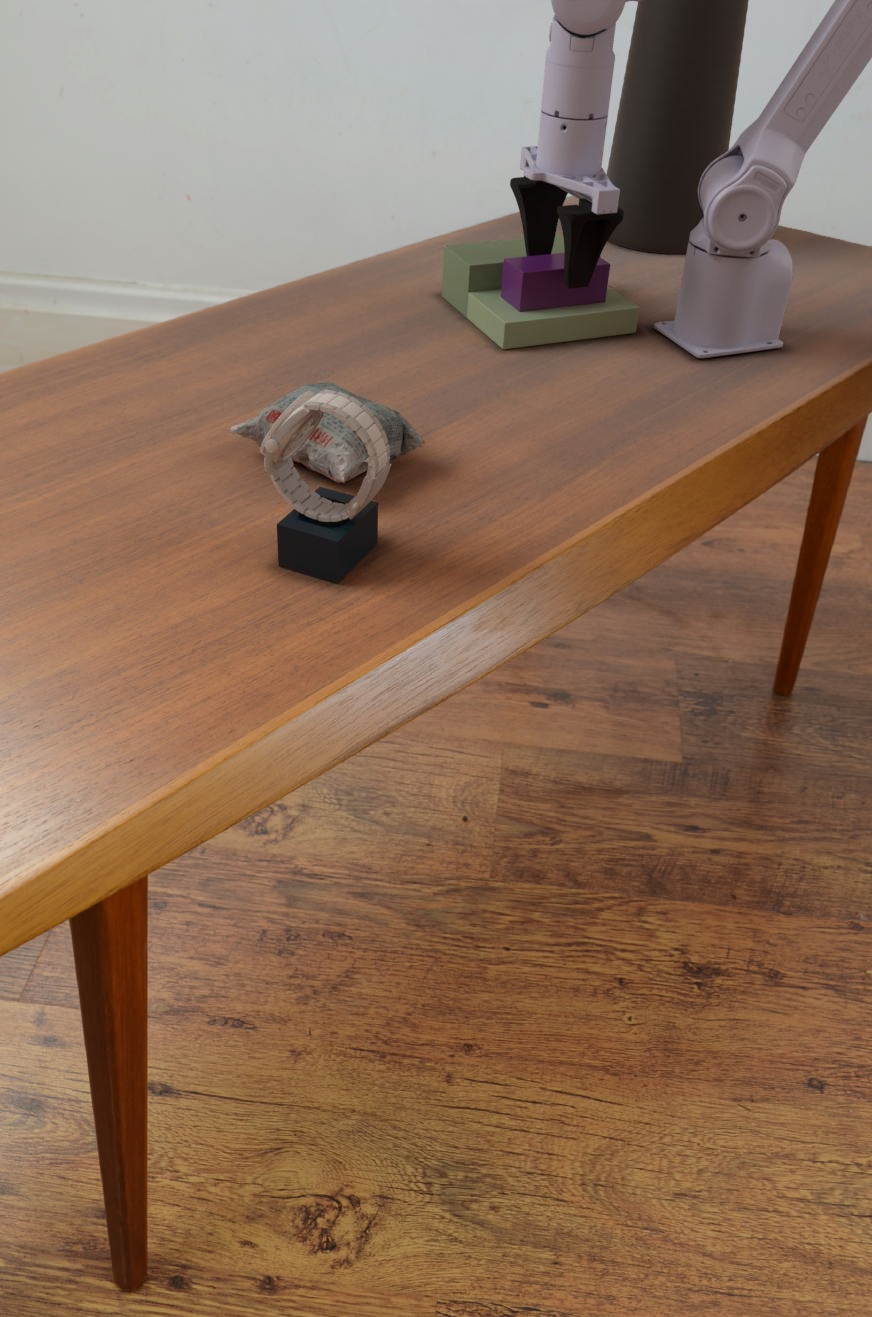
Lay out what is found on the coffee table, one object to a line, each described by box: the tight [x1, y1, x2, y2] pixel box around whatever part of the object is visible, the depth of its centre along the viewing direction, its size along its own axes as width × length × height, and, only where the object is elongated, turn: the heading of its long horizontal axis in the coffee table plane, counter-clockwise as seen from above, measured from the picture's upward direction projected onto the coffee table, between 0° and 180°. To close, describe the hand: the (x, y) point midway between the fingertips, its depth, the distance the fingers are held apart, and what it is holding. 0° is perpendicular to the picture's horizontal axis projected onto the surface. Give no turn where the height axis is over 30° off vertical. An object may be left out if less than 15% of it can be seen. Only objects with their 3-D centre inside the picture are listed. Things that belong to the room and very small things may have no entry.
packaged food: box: [229, 381, 425, 484], centre depth 84 cm, size 9×12×5 cm
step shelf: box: [441, 234, 641, 350], centre depth 110 cm, size 14×14×5 cm
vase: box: [606, 0, 749, 255], centre depth 124 cm, size 14×14×29 cm
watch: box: [259, 389, 392, 585], centre depth 72 cm, size 6×8×11 cm
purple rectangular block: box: [501, 253, 611, 312], centre depth 106 cm, size 9×4×4 cm, turn 113°
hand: (557, 272), depth 106 cm, fingers open, 7 cm apart
